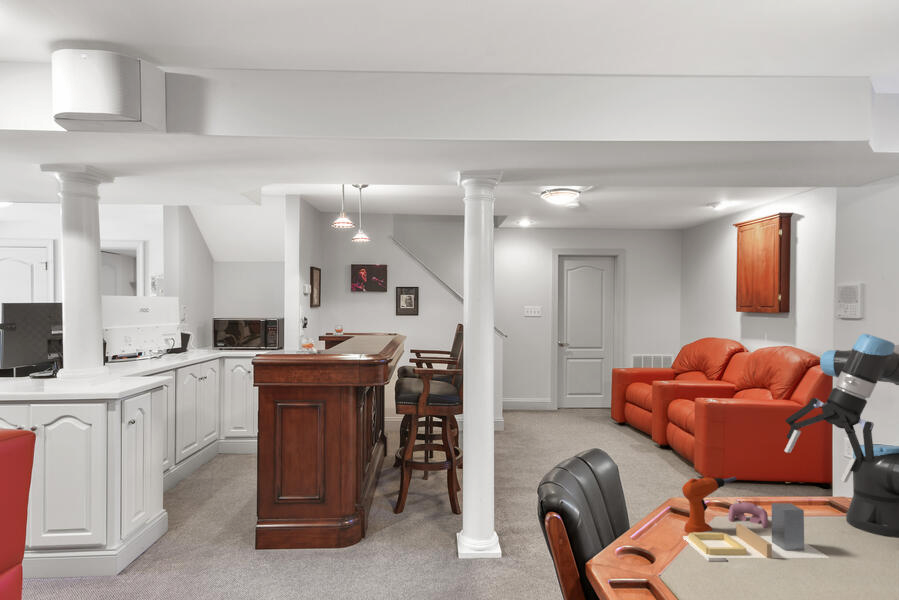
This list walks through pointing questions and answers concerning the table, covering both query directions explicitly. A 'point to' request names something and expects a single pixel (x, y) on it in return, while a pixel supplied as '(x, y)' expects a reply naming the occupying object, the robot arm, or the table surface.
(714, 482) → the toy drill
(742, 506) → the video game controller
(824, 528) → the table surface
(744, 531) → the plate
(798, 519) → the grey metal block
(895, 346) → the robot arm
